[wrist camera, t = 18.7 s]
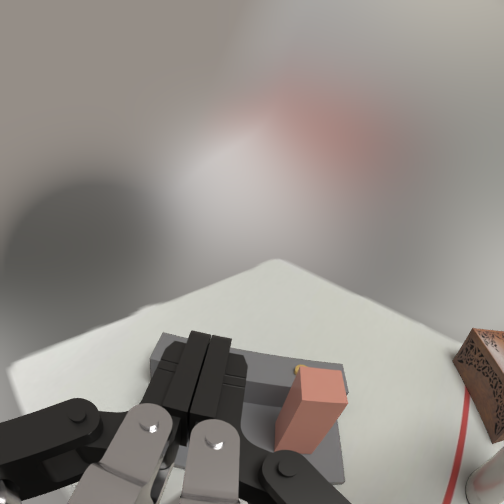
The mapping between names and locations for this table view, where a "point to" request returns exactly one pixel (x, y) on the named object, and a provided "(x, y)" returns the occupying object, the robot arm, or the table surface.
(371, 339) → the table surface
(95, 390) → the table surface
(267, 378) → the console
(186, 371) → the robot arm
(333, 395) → the red key
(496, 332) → the tissue box cover
